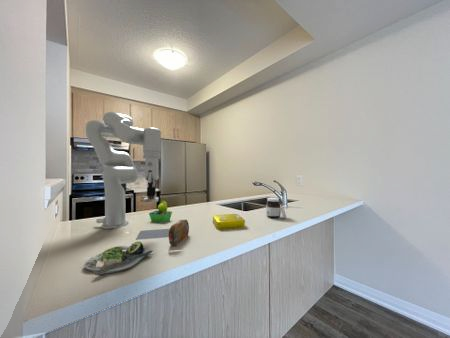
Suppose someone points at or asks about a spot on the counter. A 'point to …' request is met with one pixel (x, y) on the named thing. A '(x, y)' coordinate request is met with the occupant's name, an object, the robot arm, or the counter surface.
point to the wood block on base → (151, 198)
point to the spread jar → (274, 208)
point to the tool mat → (153, 234)
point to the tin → (178, 232)
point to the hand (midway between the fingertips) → (151, 195)
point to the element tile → (228, 221)
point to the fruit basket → (161, 213)
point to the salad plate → (117, 258)
